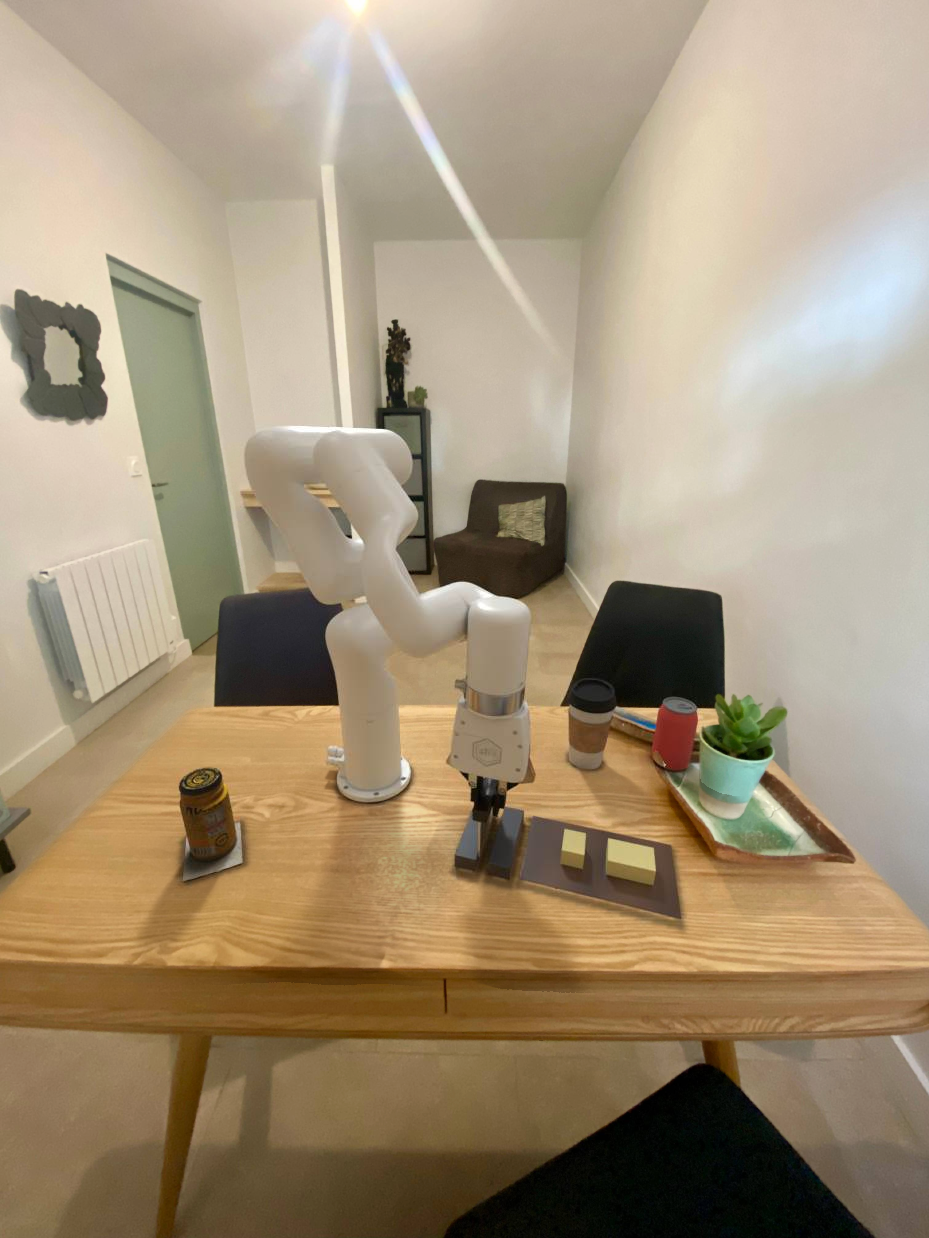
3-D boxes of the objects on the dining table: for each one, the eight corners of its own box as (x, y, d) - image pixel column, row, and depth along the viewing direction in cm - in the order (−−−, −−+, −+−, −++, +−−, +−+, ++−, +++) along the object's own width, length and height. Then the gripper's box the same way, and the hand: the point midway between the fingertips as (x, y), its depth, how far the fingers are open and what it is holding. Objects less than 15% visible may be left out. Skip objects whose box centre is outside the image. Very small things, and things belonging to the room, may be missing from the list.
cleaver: (471, 855, 65) (472, 809, 62) (489, 804, 74) (490, 762, 71) (486, 858, 64) (487, 812, 62) (501, 806, 73) (503, 764, 71)
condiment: (240, 822, 74) (227, 757, 70) (242, 863, 67) (228, 793, 63) (186, 838, 71) (169, 771, 67) (183, 883, 64) (164, 811, 60)
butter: (605, 874, 64) (607, 860, 63) (606, 851, 68) (608, 837, 67) (653, 885, 63) (656, 871, 62) (651, 861, 66) (653, 847, 66)
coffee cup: (614, 755, 90) (624, 684, 85) (600, 780, 84) (609, 705, 78) (571, 741, 95) (578, 672, 89) (554, 763, 88) (561, 691, 83)
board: (518, 884, 64) (519, 878, 64) (532, 820, 75) (532, 815, 74) (680, 925, 59) (681, 919, 58) (670, 849, 70) (671, 844, 69)
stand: (454, 871, 66) (454, 854, 65) (475, 815, 76) (475, 800, 75) (509, 885, 64) (510, 868, 63) (523, 825, 74) (524, 810, 73)
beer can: (692, 775, 85) (704, 716, 81) (653, 770, 86) (663, 712, 82) (684, 752, 91) (695, 697, 87) (647, 748, 92) (657, 693, 88)
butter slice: (560, 863, 66) (561, 849, 65) (563, 842, 70) (564, 828, 69) (582, 869, 65) (584, 855, 64) (584, 846, 69) (586, 833, 68)
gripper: (425, 697, 60) (425, 813, 66) (554, 721, 56) (540, 841, 62) (444, 671, 66) (442, 778, 73) (560, 690, 62) (547, 802, 69)
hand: (487, 806), depth 68 cm, fingers closed on cleaver, 2 cm apart
